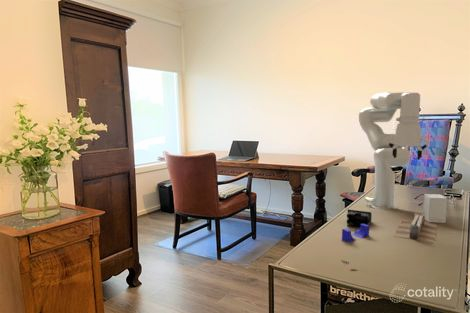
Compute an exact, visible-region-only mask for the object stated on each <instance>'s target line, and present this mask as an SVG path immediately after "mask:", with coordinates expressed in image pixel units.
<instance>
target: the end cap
mask: <svg viewBox="0 0 470 313" xmlns="http://www.w3.org/2000/svg"><path fill="white" fill-rule="evenodd" d="M372 216H373V215H372V211H365V210H356V209H349V208H348V209H347V214H346V218H347V219H346V227H347V228H348V227H349V228H354V229H360V226H361V224H366V225H369V226H370V224H372V218H373V217H372Z"/></svg>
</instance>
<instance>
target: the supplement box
mask: <svg viewBox="0 0 470 313" xmlns="http://www.w3.org/2000/svg"><path fill="white" fill-rule="evenodd" d="M423 194H424V195H423V202H424V203H423V204H422V205H423V207H422V208H423V209H422V214H424V215H425V221H426V222H427V223H446V221H447V208H448V206H447V205H448V204H447V203H448V197H444V196H445V195H442V194H436V193H435V194H434V193H433V194H431V193H428V194H427V193H423Z"/></svg>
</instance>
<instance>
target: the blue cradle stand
mask: <svg viewBox="0 0 470 313" xmlns="http://www.w3.org/2000/svg"><path fill="white" fill-rule="evenodd" d="M341 230H342V232H341V242H346V243H351V242H353V241H357V239H356V238H359V239H363V238H366V237H369V236H370V224H369V225H366V224H361V226H360V228H359V229H356V230H355V231H354V232H353V233H352V230H350V229H348V228H342V229H341ZM353 236H354V237H356V238H354V237H353Z"/></svg>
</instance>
